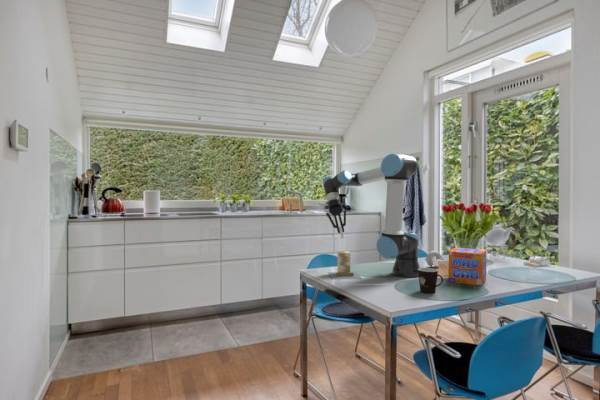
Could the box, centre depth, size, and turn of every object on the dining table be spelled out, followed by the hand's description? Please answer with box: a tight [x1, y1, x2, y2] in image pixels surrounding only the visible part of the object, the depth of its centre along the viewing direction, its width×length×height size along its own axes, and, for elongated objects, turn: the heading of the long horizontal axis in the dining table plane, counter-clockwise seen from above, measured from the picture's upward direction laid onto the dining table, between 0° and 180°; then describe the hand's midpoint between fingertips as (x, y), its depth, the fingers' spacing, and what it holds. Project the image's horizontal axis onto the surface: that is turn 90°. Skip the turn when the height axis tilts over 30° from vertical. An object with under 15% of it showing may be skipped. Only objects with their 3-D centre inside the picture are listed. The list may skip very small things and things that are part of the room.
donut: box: [425, 250, 443, 268], centre depth 218 cm, size 10×4×10 cm, turn 101°
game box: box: [447, 247, 487, 287], centre depth 184 cm, size 16×16×16 cm
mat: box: [327, 271, 363, 280], centre depth 193 cm, size 16×16×2 cm
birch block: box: [337, 250, 351, 272], centre depth 196 cm, size 6×6×12 cm
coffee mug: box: [418, 267, 444, 295], centre depth 162 cm, size 12×9×10 cm
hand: (342, 237), depth 210 cm, fingers closed
